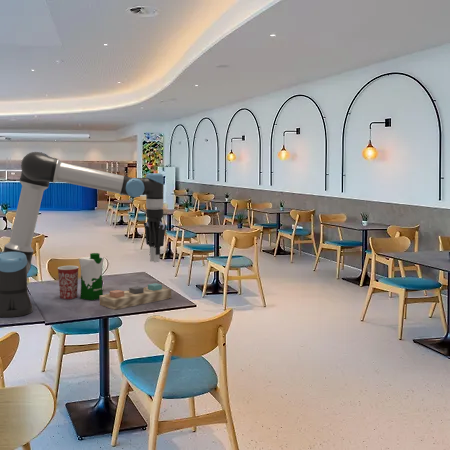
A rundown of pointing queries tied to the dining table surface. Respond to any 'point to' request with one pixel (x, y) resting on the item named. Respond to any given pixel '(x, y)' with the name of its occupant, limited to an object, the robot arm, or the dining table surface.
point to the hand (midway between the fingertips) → (154, 261)
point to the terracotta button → (116, 293)
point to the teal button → (154, 286)
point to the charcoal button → (136, 290)
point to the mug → (68, 281)
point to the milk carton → (91, 276)
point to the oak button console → (134, 298)
